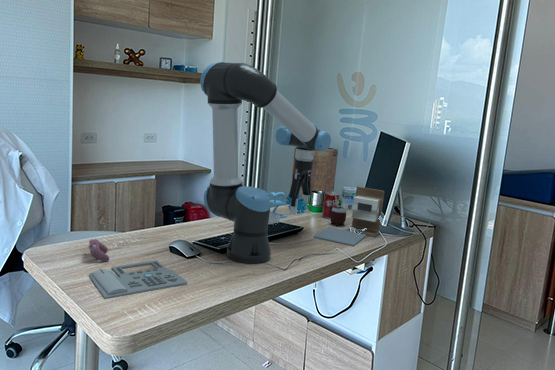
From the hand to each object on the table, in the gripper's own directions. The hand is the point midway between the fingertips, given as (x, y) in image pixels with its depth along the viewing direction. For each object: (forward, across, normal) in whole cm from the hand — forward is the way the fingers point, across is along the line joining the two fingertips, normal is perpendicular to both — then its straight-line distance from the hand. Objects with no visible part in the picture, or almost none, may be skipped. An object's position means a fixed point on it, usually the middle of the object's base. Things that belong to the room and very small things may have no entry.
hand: (298, 211), depth 199 cm
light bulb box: (+7, +62, -5) cm, 62 cm away
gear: (+1, 0, +1) cm, 1 cm away
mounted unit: (+8, +19, -24) cm, 31 cm away
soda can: (+8, +33, -3) cm, 34 cm away
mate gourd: (+8, +23, -10) cm, 26 cm away
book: (+7, +54, +15) cm, 56 cm away
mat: (+8, +5, -18) cm, 20 cm away
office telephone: (+11, -79, +16) cm, 82 cm away
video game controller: (+10, -74, +36) cm, 83 cm away
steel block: (+8, +5, +14) cm, 17 cm away
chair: (+8, +16, +18) cm, 25 cm away
